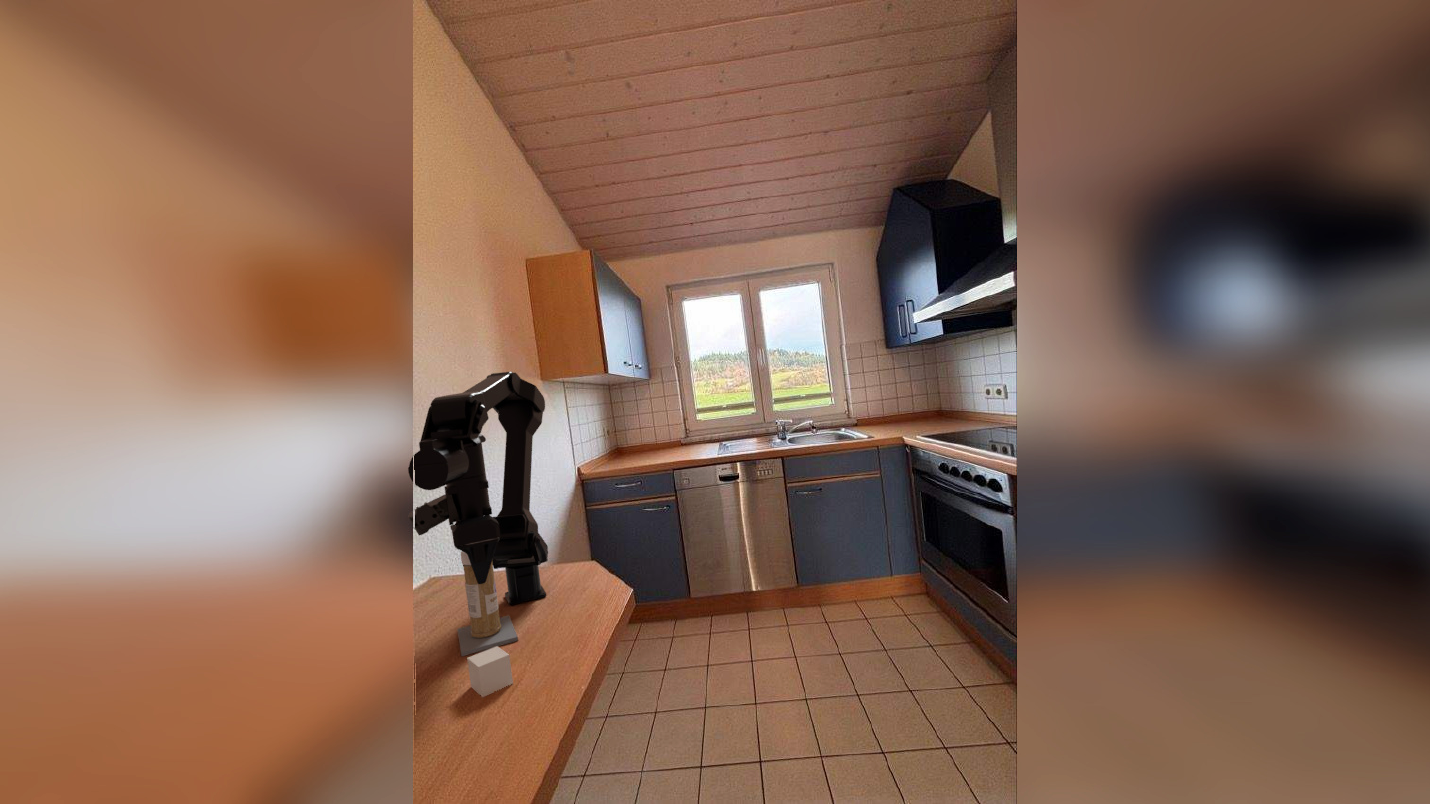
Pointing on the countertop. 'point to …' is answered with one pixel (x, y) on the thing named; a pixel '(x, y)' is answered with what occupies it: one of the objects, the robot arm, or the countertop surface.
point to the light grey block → (490, 671)
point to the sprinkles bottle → (481, 601)
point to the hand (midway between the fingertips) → (479, 575)
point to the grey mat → (486, 638)
